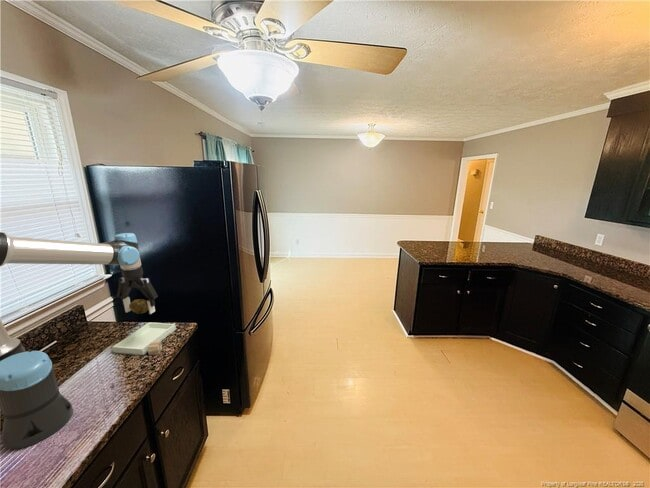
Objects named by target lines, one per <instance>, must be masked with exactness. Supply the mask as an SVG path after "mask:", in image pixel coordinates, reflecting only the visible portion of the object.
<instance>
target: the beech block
mask: <svg viewBox="0 0 650 488" xmlns="http://www.w3.org/2000/svg"><path fill="white" fill-rule="evenodd" d="M147 349H148V352H147V353H148V356H152V355H159V354H160V353H161V351H162V350H163V345H162V341H156V342H151V343H150V344H149V346H148V347H147Z"/></svg>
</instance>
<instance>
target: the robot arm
mask: <svg viewBox="0 0 650 488" xmlns="http://www.w3.org/2000/svg"><path fill="white" fill-rule="evenodd" d="M137 239H138V238H137V236H136V234H135V233H133V232H123V233H122V232H121V233H119V234H115V235H114V239H113V240H110V241H105V242H99V243H95V242H86V241H85V242H81V241H72V240H71V241H69V240H58V239H57V240H56V239H44V238H43V239H42V238H34V237H33V238H32V237H31V238H30V237H19V236H10V235H8V233H6V232H0V268H1V267H3V266H4V265H6V264H15V265H16V264H24V265H25V264H26V265H27V264H28V265H29V264H30V265H32V264H33V265H38V264H39V265H41V264H42V265H107V266H109V265H110V266H112V265H113V266H115V265H116V266H119V265H120V269H121V276H122V277H120V278H117V280H118V288H117V293H116V297H117V299H118V298H119V299H120V300H121V301H122V305H123V307H124V312H125V313H129V312H131V311H132V310H131V309H130V307H129V304H130V303H131V298H130V296H129V294H130V292H131V290H132V288H134V289H137V290H139V291H141V293H142V294H143V295H144V297H146V299H147V300H146V301H147V304H148V314H149V315H152V314H153V313H155V312H156V307H155V306H156V302H155V300H156V299H157V298H158V297H159V295H158V293H157V291H156V290H155V288H154V286H153V284H152V283H151V279H150V278H149V277H146V278H144V277H143V274H144V270H143V267H142V261H141V255H140V250H139V244H138V240H137ZM0 410H1V413H2V416H3V424H2V431H1V437H0V440H1V442H2V445H3V447H4V448H5V449H7V450H19V449H23V448H26V447H30V446H33V445H35V444H37V443H39V442H42V441H44V440H46V439H47V438H49V437H51V436H52V435H53V434H56V432H58V431H59V430H61V429H62V428H63V427H64V426H66V424H67V423H68V422H69V421H70V419H71V418H72V416H73V415H74V407H73V405H72V403H71V402H70V401H69V399H67V398H66V397H65V396H64V395H62V393H61V392H60V389H59V386H58V382H57V378H56V376H55V371H54V368H53V362H52V360H51V359H50V357H49V355H48V354H47V353H46V352H43V351H40V350H31V351H26V349H25V347H24V346H23V343H22V342H21V340H20V339H19V338H16V337H10V335H9V333H8V331H7V330H6V328H5V326H4V324H3V321H2V320H1V319H0Z"/></svg>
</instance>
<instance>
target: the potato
mask: <svg viewBox="0 0 650 488" xmlns="http://www.w3.org/2000/svg"><path fill="white" fill-rule="evenodd" d="M147 301H148V300H146V299H144V298H143V299H142V298H137V299H134V300H132V302H130V304H129V307H130V309H131V311H132V312H133V313H136V314H137V315H139V314H145V313H147V311H149V309H148V304H147Z"/></svg>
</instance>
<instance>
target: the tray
mask: <svg viewBox="0 0 650 488" xmlns="http://www.w3.org/2000/svg"><path fill="white" fill-rule="evenodd" d="M176 330H177V327H176V324H175V323H164V322H163V323H162V322H161V323H160V322H148V323H146V324H145V325H143V326H142V327H140V328H138V329H137V330H135V331H134V332H132V333H131V334H129V335H128V336H126V337H125V338H123V339H122V340H121V341H119V342H117V343H116V344H114V345H112V347H111V348H112V352H113V354H122V355H123V354H125V355H132V356H135V355H136V356H145V355H146V354H147V353H148V349H147V347H148V346H149V344H150V343H151V342H156V341H161V342H162V341H163V340H165V339H166V338H167V337H169V336H170V335H171V334H172V333H173V332H175V331H176Z"/></svg>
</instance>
